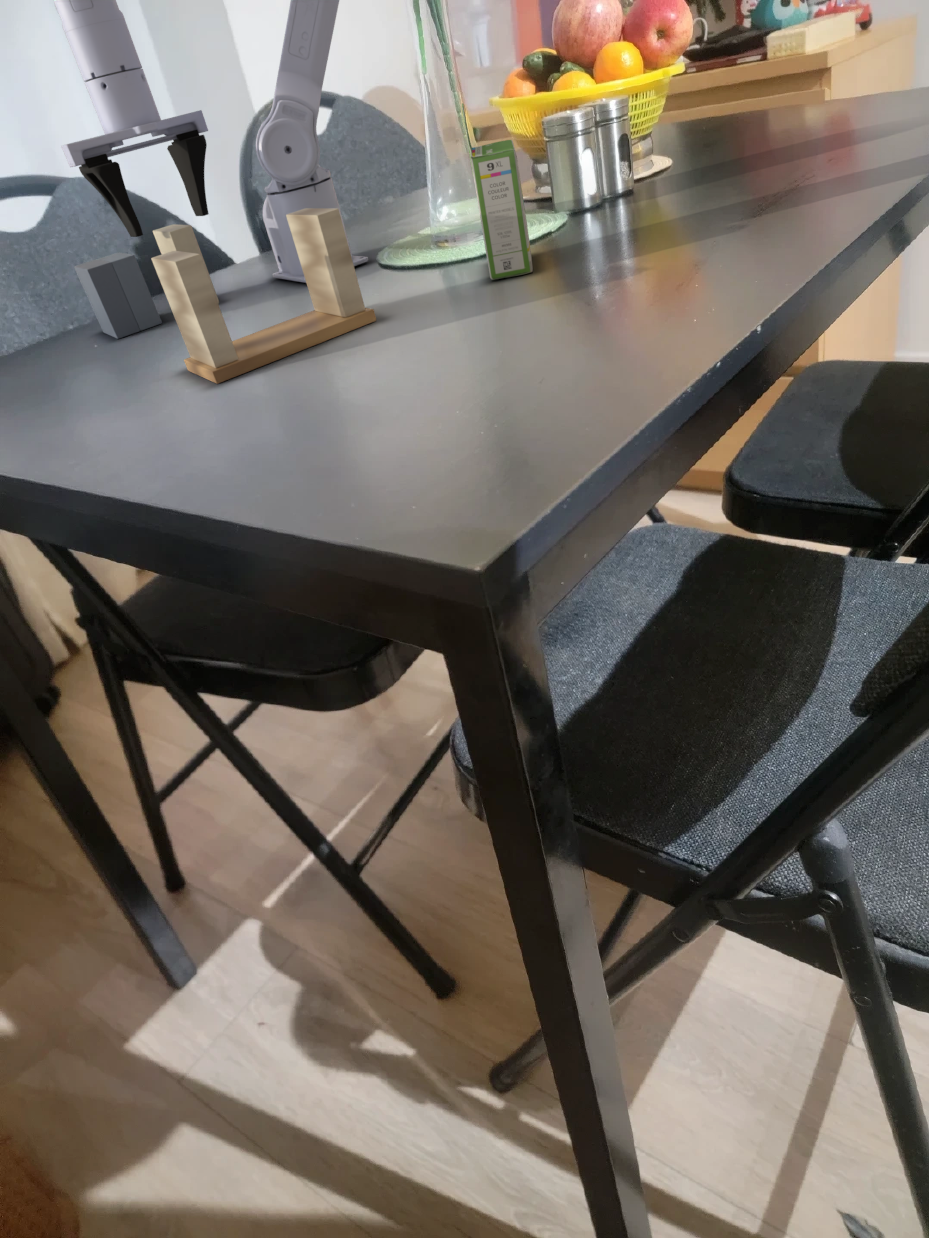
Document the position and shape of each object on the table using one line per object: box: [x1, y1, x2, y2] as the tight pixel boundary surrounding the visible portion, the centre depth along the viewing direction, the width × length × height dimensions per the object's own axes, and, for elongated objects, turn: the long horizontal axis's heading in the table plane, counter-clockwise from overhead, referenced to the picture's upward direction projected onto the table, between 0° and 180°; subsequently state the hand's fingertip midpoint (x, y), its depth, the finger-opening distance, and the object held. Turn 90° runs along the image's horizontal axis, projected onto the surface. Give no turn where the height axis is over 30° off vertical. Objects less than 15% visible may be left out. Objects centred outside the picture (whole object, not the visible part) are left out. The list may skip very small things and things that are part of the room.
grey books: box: [73, 251, 163, 340], centre depth 87 cm, size 6×5×7 cm
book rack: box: [150, 208, 377, 385], centre depth 67 cm, size 7×15×9 cm, turn 126°
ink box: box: [461, 102, 534, 281], centre depth 72 cm, size 7×4×13 cm, turn 179°
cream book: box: [152, 223, 220, 304], centre depth 90 cm, size 6×2×8 cm, turn 36°
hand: (170, 225), depth 88 cm, fingers open, 7 cm apart
